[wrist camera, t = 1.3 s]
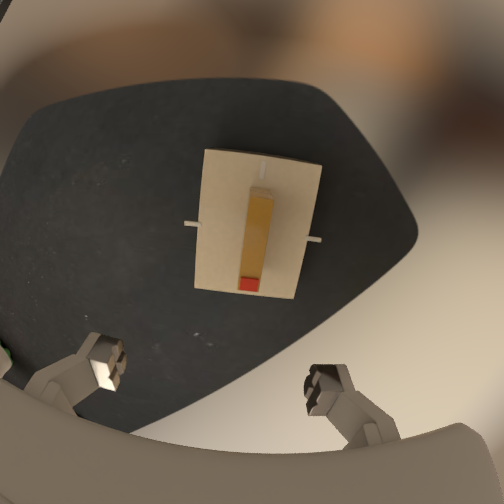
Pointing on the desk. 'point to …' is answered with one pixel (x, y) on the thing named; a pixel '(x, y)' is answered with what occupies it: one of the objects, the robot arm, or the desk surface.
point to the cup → (4, 360)
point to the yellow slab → (254, 238)
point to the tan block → (234, 211)
